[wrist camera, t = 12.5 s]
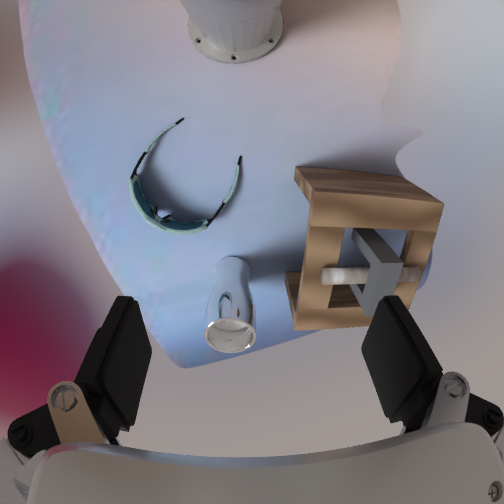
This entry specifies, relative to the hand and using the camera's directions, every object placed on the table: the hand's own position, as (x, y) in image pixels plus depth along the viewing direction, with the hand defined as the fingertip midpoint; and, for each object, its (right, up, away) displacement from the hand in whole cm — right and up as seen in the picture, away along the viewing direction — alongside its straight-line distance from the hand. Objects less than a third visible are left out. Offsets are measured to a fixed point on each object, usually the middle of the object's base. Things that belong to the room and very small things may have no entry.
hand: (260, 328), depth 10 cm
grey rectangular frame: (+15, +3, +28) cm, 32 cm away
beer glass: (-4, 0, +38) cm, 38 cm away
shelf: (+15, +6, +34) cm, 38 cm away
